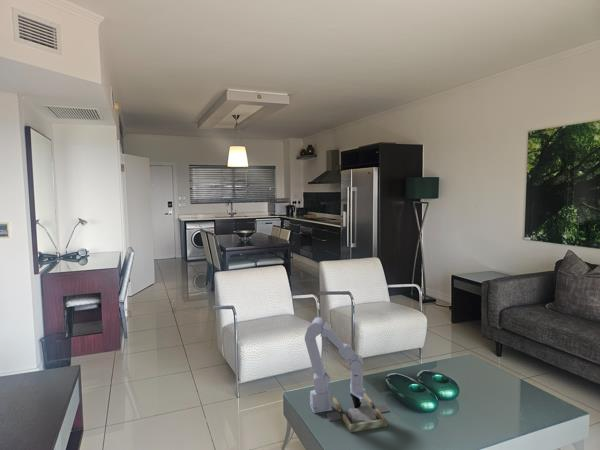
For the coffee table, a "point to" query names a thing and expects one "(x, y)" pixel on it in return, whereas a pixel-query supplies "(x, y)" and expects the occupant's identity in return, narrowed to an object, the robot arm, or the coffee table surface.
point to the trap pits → (336, 416)
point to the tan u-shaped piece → (363, 425)
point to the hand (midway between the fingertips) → (357, 409)
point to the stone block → (361, 414)
